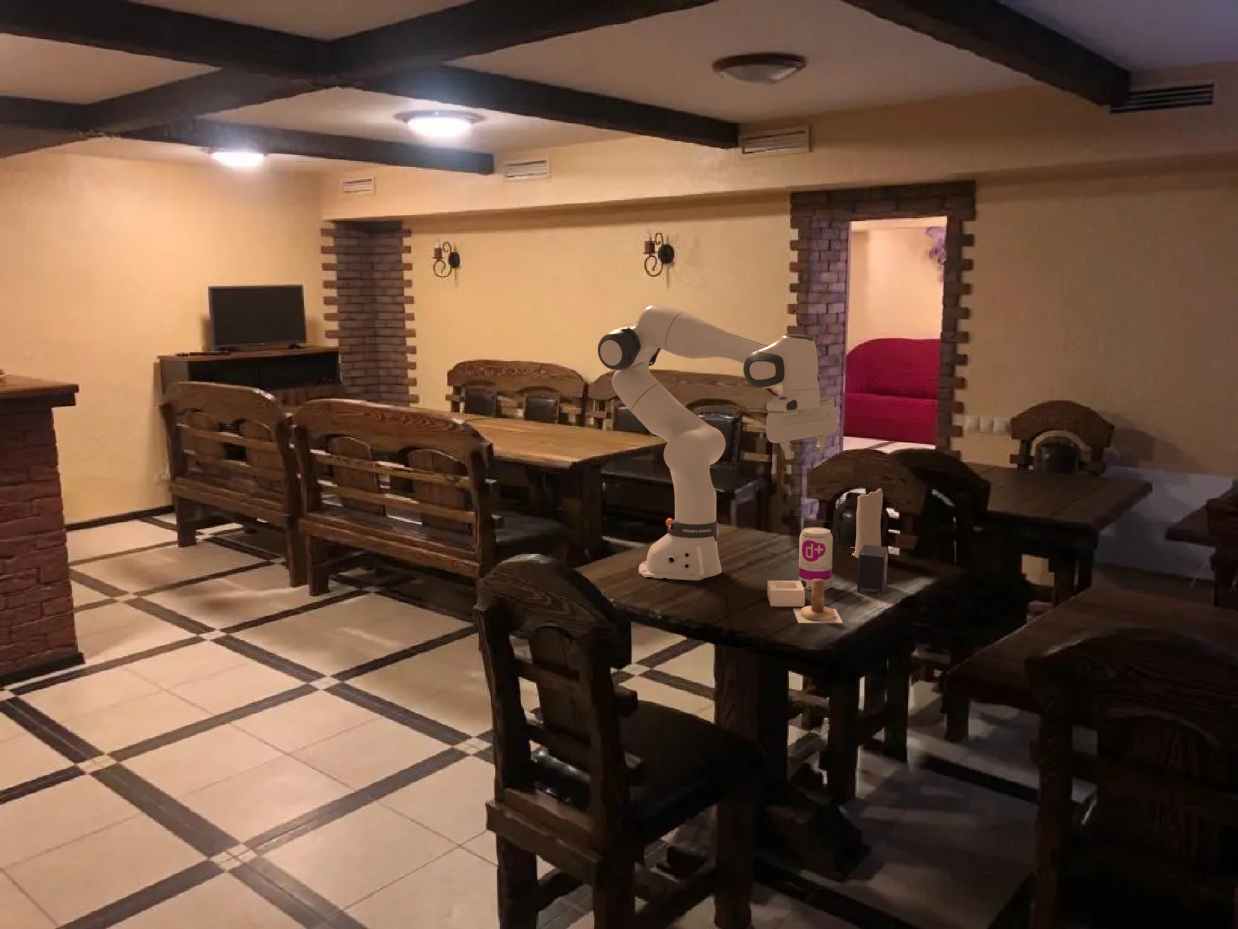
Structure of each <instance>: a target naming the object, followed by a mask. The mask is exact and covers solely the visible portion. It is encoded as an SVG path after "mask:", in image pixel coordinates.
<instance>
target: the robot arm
mask: <svg viewBox="0 0 1238 929" xmlns="http://www.w3.org/2000/svg"><path fill="white" fill-rule="evenodd" d="M661 350H663V351H666V352H668V353H670V354H672V355H676V356H679V357H681V358H682V357H683V358H688V359H691V360H695V359H696V360H697V359H711V358H724V359H730V360H732V361H734V362H737V363H740V364H743V375H744V378H745V380H746V381H747V383H748V384H749V385H751V386H752V387H754V388H757V389H769V388H773V387H776V386H781V387H782V393H781V394H779V395H778V396H776V397H775V398H773V399H770V400H769V401H768V402H767V403H766V410H767V411H768V413H767V415H766V418H765V419H766V420H765V422H766V423H765V427H766V428H765V430H766V438H767V440H768V441H769V442H770V443H774V444H779V445H780V447H781V449H782V450H783V453H784V458H785V460H792V459H795V451H791V449H790V446H791V441H796V440H802V439H808V438H813V437H816V439H817V442H816V445H815V446H814V445H813V449H814V450H813V452H814V454H823V453H824V445H825V443H826V441H827V435H830V434H835V433H836V432H837V431H838V429H839V423H838V417H837V416H838V415H837V410H836V407H835V400H834V399H833V398H832V397H830V396H829V395H827V396H823V397H821V394H820V384H819V381H818V373H819V360H818V359H819V358H818V352H817V351H818V350H817V346H816V342H815V340H814V338H812V337H811V336H810V335H807V334H803V333H794V332H793V333H786V334H783V335H782V336H781V337H780V338H779V339H777V340H776V341H774V342H773V343H772V344H769V345H767V344H762V343H760V342H756V341H754V340H751V339H748V338H745V337H742V336H740V335H737V334H734V333H730V332H729V331H726V330H724V329H723V328H720V327H718V326H716V325H714V324H712V323H709V322H707V321H706V320H704V319H701V318H699V317H697V316H695V315H693V314H690V313H689V312H688V313H687V312H685V311H683V310H680V309H678V308H674V307H669V306H666V305H661V304H651V305H649V306H647V307H646V308H644V309H643V311H642V312H641V313H640V315H639V317H638V320H637V321H636V322H631V323H627V324H624V325H621V326H620V327H618V328H616V329H612V330H610V331H609V332H607V333H606V334H604V336H602V338H601V339H600V340H599V343H598V345H597V355H598V358H599V360H600V362H601V363H602V365H603V366H604V367H606V368H607V369H609V370H612V371H615V372H614V374H613V376H612V378H611V386H612V388H613V390H614V391H615V394H617V397H618V398H619V399H620V400H621V402H622V403H623V404H624V406H625V407H626V408H627V409H628V410H629V411H630V412H631V413H632V414H633V415H634V416H635V417H636V419H637V420H638V421H639V422H641V424H642V425H643V426H644V427H645V428H646V429H647V430H648V431H649V432H650V433H651V434H653V435H655V436H658V437H659V438H661V439H663V440H665V442H667V443H666V445H665V447H664V450H663V459H664V462H665V464H666V466H667V467H668V468H669V471H670V475H671V481H672V485H673V489H674V490H673V491H674V519H672V518H671V517H669V518H667V519H666V521H665V525H666V526H667V527H666V528H667V533H666V534H665V535H664V536H661V538H659V539H658V540H657V541H655V542H654V543H653V544H652V545H651V546H650V547H649V550H648V551H647V556H646V560H645V561H642V562H641V563H640V564H639V567H638V574H639V575H640V574H641V575H642V577H643V578H647V577H653V578H652V579H663V578H667V580H668V579H669V580H683V581H684V580H685V581H701V580H704V579H705V578H710V577H715V576H717V575H720V574H721V573H722V571H723V570H722V566H721V562H720V556H719V552H718V550H719V548H718V540H719V539H718V538H719V522H718V519H717V491H716V489H715V487H714V485H713V481H712V475H711V472H710V471H711V470H710V468H711V465H714V464H715V463H716V462H718V461H719V459H720V458H721V457H722V456H723V454H724V453H725V449H726V445H727V444H726V438H725V436H724V434H723V432H722V431H720V430H719V429H718V428H717V427H713V426H712V425H710V424H709V423H708V422H706V421H705V420H703V419H702V418H700V417H699V416H698V415H696V414H695V413H694V412H692V411H691V410H690V409H688V408H686V406H685V405H683V404H682V403H681V402H680V401H678V399H676V398H675V396H674V395H673V394H672V393H671V392H670V391H669V390H668V389H667V388H666V387H665V386H664V385H663V384H662V383H661V382H659V380H658V379H657V378H656V377H655V376H654V375H653V374H652V373H651V371H650V367H651V366H654V365H655V363H656V360H657V358H658V355H659V354H660V352H661ZM641 575H640V576H641Z"/></svg>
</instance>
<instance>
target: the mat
mask: <svg viewBox="0 0 1238 929" xmlns="http://www.w3.org/2000/svg"><path fill="white" fill-rule="evenodd" d="M801 609H802V608H793V609H792V610H793V613H794V615H795V619H796V620H797V623H798V624H843V623H844V622H843V620H842V618H841V616H840V614H839V612H838V611H837V609H836V608H832V609H833V610H834V618H833V619H831V620H827V621H812V620H808V619H805V618H803V617H802V616H801Z"/></svg>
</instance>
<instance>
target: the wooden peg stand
mask: <svg viewBox="0 0 1238 929" xmlns="http://www.w3.org/2000/svg"><path fill="white" fill-rule="evenodd" d="M800 609H801V616H802V617H803V618H805V619H808V620H812V621H827V620H831V619H833V618H834V610H833V609H834V608H831V607H829V606H825V590H824V580H823V579H812V590H811V605H807V606H802V608H800Z"/></svg>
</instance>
